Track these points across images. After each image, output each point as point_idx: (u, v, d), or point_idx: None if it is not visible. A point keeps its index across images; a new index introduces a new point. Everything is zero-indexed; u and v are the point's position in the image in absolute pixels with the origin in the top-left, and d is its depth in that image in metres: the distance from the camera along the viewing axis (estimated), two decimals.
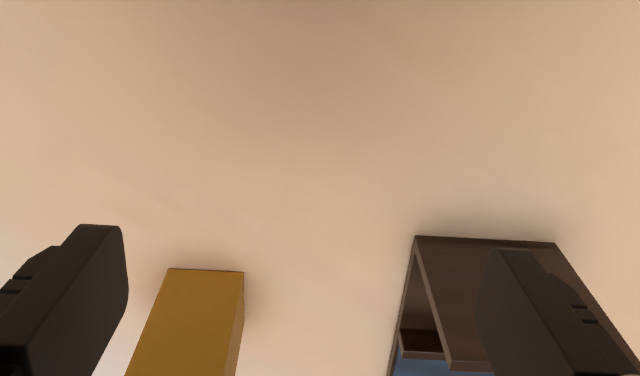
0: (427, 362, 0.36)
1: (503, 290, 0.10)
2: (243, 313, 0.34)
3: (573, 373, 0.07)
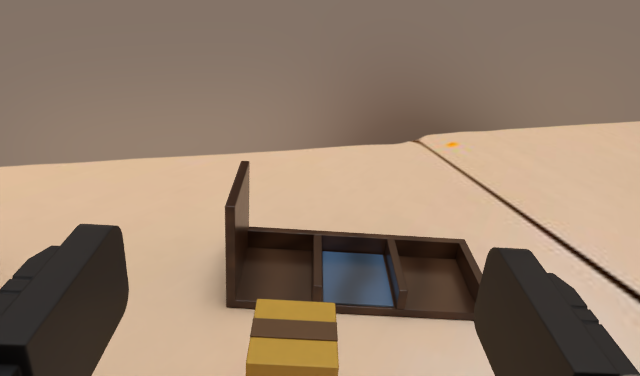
0: (345, 286, 0.45)
1: (503, 290, 0.10)
2: None
3: (573, 373, 0.07)
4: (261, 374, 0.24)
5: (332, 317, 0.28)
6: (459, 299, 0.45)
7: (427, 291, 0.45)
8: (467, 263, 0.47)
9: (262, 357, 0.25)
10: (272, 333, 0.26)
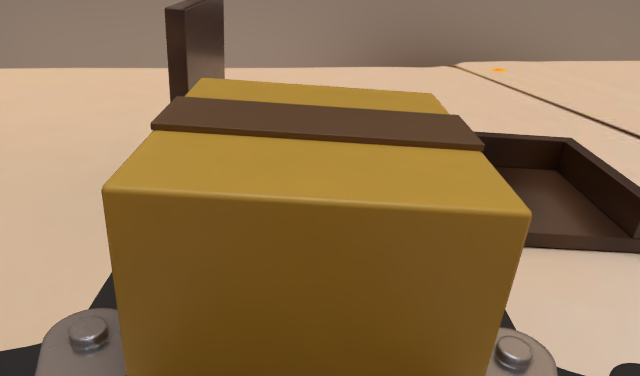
0: None
1: None
2: None
3: None
4: (180, 252, 0.05)
5: (439, 111, 0.09)
6: (588, 218, 0.26)
7: (530, 208, 0.26)
8: (590, 165, 0.28)
9: (183, 173, 0.05)
10: (237, 123, 0.07)
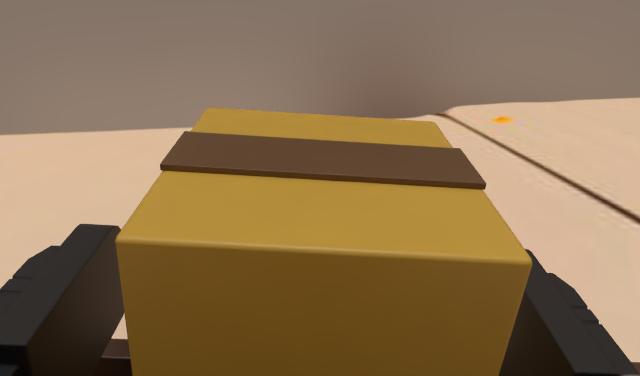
0: None
1: None
2: None
3: (573, 373, 0.07)
4: (190, 298, 0.06)
5: (441, 143, 0.09)
6: None
7: None
8: None
9: (193, 220, 0.06)
10: (245, 162, 0.07)
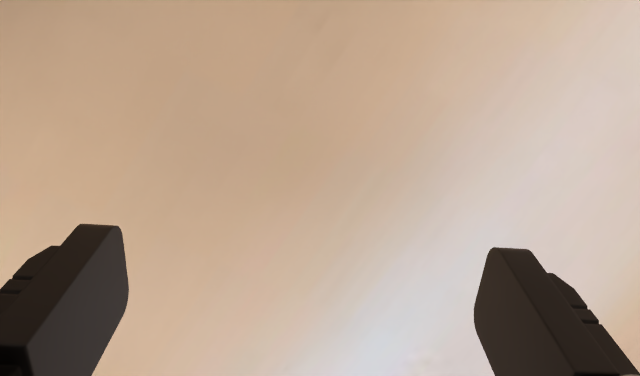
0: None
1: (503, 290, 0.10)
2: None
3: (573, 373, 0.07)
4: None
5: None
6: None
7: None
8: None
9: None
10: None
